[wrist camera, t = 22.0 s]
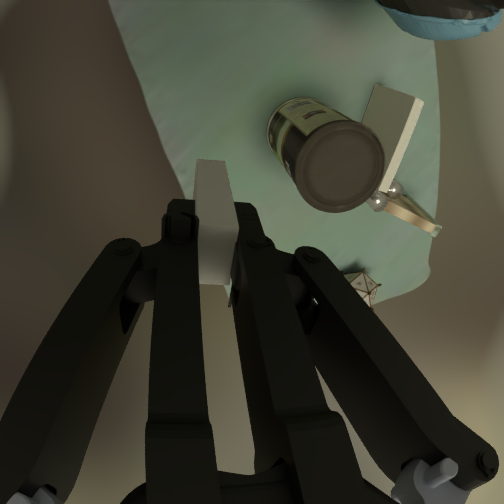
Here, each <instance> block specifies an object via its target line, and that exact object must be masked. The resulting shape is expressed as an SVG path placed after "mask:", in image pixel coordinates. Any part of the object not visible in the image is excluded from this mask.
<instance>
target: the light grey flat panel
mask: <svg viewBox="0 0 504 504" xmlns="http://www.w3.org/2000/svg"><path fill="white" fill-rule="evenodd" d="M423 104H424V102H423V101H421V100H420V99H418V98H416V97H413V96H411V95H408V94H405V93H402V92H399V91H397V90H394V89H391V88H388V87H385V86H382V85H379V84H375V86H374V89H373V92H372V95H371V98H370V101H369V103H368V106H367V109H366V112H365V114H364V117H363V120H362V124H364V125H365V126H367V127H369V128H370V129H372V130H373V131H374V132H375V133H376V134H377V136H378V137H379V139H380V140H381V142H382V144H383V147H384V150H385V155H386V167H385V172H384V176H383V179H382V181H381V183H380V185H379V187H378V188H377V190H378V191H382V192H385V193H387V192H388V189H389V187H390V185H391V183H392V181H393V178H394V176H395V174H396V171H397V169H398V167H399V165H400V162H401V160H402V157H403V155H404V153H405V150H406V148H407V145H408V143H409V141H410V138H411V136H412V133H413V131H414V128H415V125H416V123H417V120H418V118H419V115H420V112H421V110H422V107H423Z"/></svg>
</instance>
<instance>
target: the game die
mask: <svg viewBox="0 0 504 504" xmlns="http://www.w3.org/2000/svg"><path fill="white" fill-rule="evenodd" d="M364 271H365V268H363V269H362V272H356V273H349V274H343V272H341V271H340V272H341V273H342V274H343V275H344V277H345V278H346V279H347V280H348V281H349V283H350V284H351V285H352V286H353V287H354V289H355V290H356V291H357V292H358V293H359V295H360V296H361V297H362V298H363V299H364V301H365V302H366V303H367V304H368V306H369V307H370V308H371V309H372V310H373V308H372V307H371V306H372V303H373V300H374V297H375V294H376V290H377V287H378V286H381V285H382V284H378V285H377V284H376V283H375V282H374V281H373V280H372V279H371V278H370V277H369V276H368V275H366V274H365V273H364ZM373 311H374V310H373Z"/></svg>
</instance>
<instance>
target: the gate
mask: <svg viewBox="0 0 504 504" xmlns="http://www.w3.org/2000/svg"><path fill="white" fill-rule="evenodd" d="M380 192H381V193H382V194H383V195H384V196H385V197H386V198H387V200H388V203H387V206H386V207H385V209H383V210H384V211H386V212H388V213H390V214H392V215H395V216H397V217H399V218H401V219H403V220H405V221H407V222H409V223H411V224H413V225H415V226H417V227H419V228H421V229H423V230H425V231H427V232H428V233H429V234H430V235H432V236H434V237H436V236H437V234H438V233H439V231H440V230H441V228H442V226H440V225H439V224H438V223H437V222H436V221H435V220H434V219H433V218H432V217H431V216H430V215H429V214H428V213H427V212H426V211H425V210H424V209H423V208H422V207H421V206H420V205H419V204H418V203H416V202H415V201H414V200H413V199H411V198H410V197H405V196H403V195H401V196H400V197H399V198H397V199H391V198H390V197H389V196H388V195H387V194H386V193H385V192H382V191H380Z"/></svg>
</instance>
